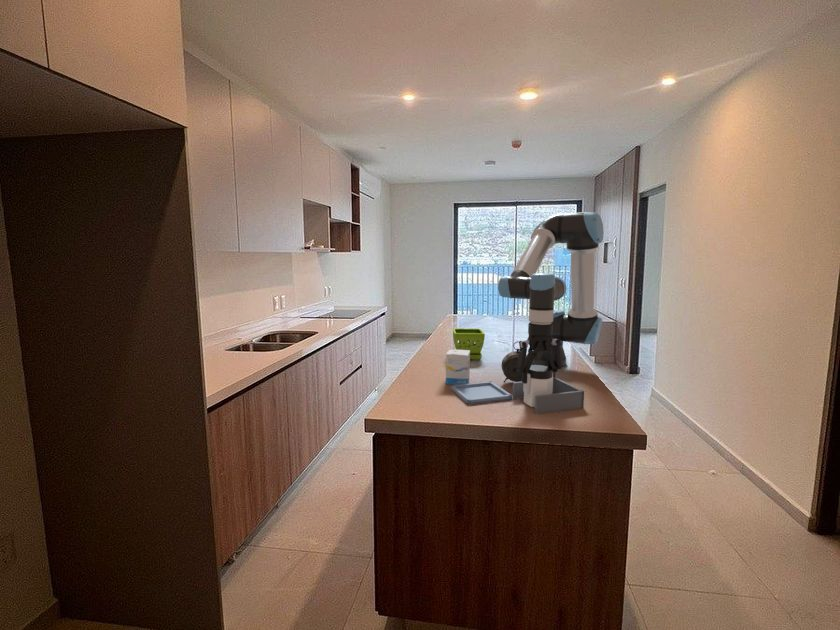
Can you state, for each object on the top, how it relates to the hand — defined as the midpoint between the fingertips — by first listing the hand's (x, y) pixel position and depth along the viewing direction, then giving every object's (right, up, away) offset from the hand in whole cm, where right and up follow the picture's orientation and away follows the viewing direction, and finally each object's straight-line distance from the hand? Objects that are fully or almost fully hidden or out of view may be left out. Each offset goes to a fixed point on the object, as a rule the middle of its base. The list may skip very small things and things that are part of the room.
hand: (537, 391), depth 141 cm
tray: (-17, -3, +10) cm, 20 cm away
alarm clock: (-2, -1, +22) cm, 22 cm away
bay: (+3, -4, +2) cm, 6 cm away
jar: (0, -4, +1) cm, 4 cm away
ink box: (-24, -1, +25) cm, 34 cm away
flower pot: (-16, +5, +61) cm, 63 cm away
